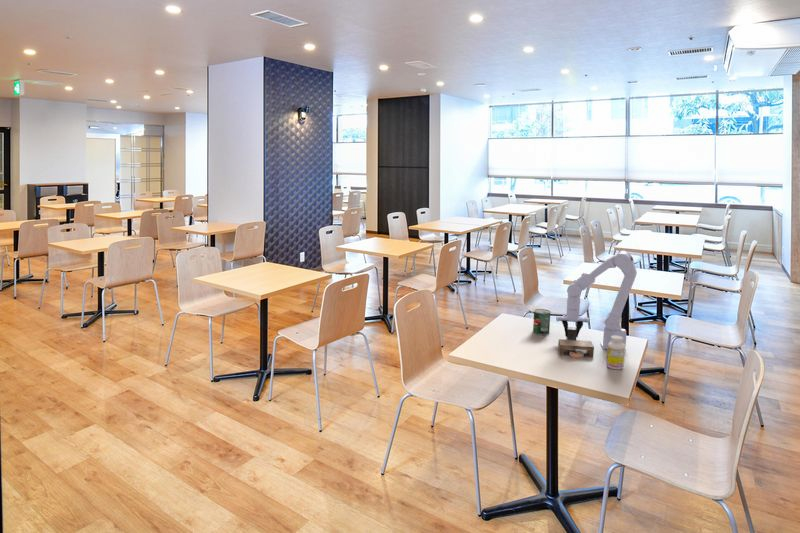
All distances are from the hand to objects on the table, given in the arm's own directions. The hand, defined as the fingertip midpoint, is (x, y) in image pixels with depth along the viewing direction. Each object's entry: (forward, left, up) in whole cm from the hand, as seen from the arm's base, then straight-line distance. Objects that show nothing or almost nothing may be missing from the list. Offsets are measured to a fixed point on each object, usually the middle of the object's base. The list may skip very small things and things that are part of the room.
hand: (571, 336), depth 256 cm
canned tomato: (+13, -11, -3) cm, 17 cm away
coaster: (0, +19, -3) cm, 20 cm away
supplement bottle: (-14, +30, -3) cm, 33 cm away
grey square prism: (0, +6, -2) cm, 7 cm away
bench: (0, +16, -2) cm, 16 cm away
